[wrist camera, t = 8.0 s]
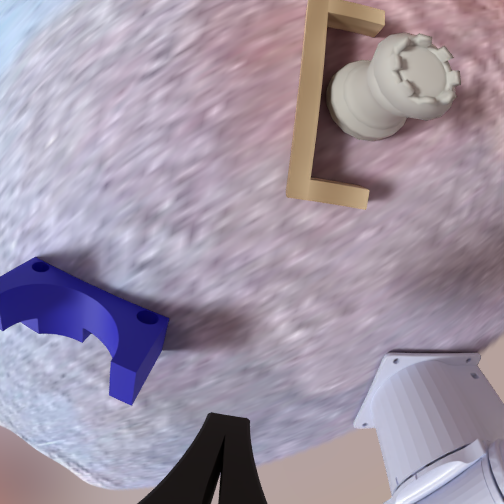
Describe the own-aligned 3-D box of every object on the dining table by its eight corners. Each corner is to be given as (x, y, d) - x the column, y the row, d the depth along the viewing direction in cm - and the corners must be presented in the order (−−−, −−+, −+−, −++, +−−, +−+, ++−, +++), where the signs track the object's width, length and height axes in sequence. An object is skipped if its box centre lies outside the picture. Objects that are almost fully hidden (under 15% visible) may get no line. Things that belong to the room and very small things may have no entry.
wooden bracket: (374, 23, 13) (384, 11, 11) (356, 203, 16) (366, 209, 14) (306, 9, 13) (309, -6, 11) (285, 192, 16) (286, 197, 15)
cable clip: (37, 302, 21) (-7, 337, 15) (36, 256, 20) (-15, 286, 14) (159, 363, 21) (130, 419, 16) (170, 316, 20) (136, 372, 14)
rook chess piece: (308, 86, 14) (333, 33, 7) (372, 54, 13) (433, -4, 6) (352, 155, 15) (413, 161, 8) (414, 120, 14) (500, 108, 7)
